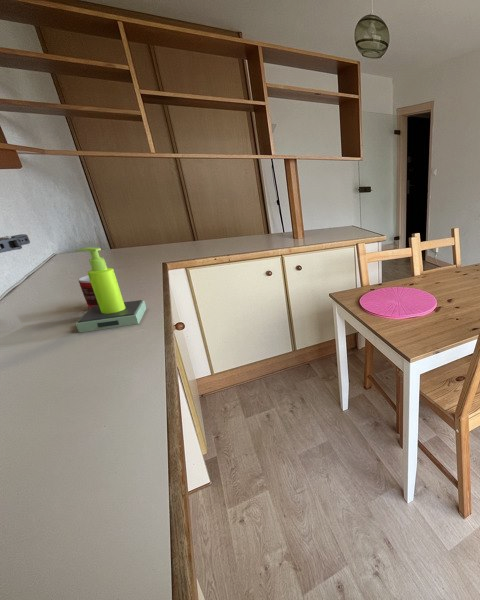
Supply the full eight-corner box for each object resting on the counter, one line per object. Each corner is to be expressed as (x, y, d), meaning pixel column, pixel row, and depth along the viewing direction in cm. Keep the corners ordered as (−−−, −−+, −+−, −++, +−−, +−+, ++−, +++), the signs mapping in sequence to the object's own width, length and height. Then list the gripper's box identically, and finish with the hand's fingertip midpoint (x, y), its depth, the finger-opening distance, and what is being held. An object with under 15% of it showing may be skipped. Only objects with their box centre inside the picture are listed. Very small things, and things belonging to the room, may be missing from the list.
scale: (78, 332, 92) (74, 322, 91) (93, 315, 103) (90, 305, 102) (138, 324, 98) (135, 314, 97) (146, 308, 110) (143, 299, 109)
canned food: (114, 301, 115) (104, 272, 111) (121, 306, 110) (112, 277, 106) (86, 307, 109) (75, 277, 105) (92, 313, 104) (81, 282, 100)
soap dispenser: (107, 306, 102) (86, 245, 95) (130, 306, 103) (111, 246, 95) (92, 313, 96) (69, 250, 89) (116, 313, 97) (95, 250, 90)
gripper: (-52, 234, 57) (34, 222, 71) (-147, 233, 55) (-38, 221, 70) (-32, 274, 59) (47, 254, 74) (-122, 274, 58) (-23, 254, 72)
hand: (5, 238), depth 72 cm, fingers open, 8 cm apart
